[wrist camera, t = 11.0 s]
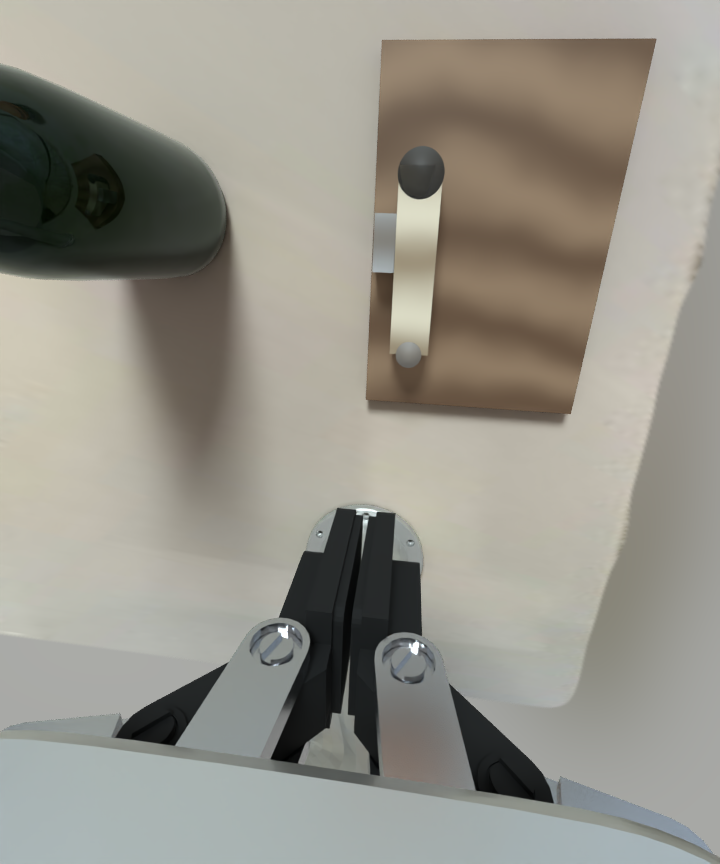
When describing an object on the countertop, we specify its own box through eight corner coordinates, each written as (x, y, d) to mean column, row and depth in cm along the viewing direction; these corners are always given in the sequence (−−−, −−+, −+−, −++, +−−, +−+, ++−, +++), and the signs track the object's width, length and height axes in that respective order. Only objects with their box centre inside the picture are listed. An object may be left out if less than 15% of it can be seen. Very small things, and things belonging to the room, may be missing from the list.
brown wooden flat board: (565, 408, 39) (583, 425, 35) (367, 395, 41) (362, 410, 37) (645, 48, 30) (682, 14, 26) (383, 49, 31) (378, 17, 27)
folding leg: (426, 360, 37) (427, 368, 34) (389, 358, 38) (387, 366, 35) (444, 156, 32) (447, 144, 29) (400, 155, 32) (398, 144, 29)
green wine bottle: (92, 160, 36) (-1609, -378, 6) (205, 122, 34) (-1448, -993, 4) (141, 289, 40) (-756, 379, 9) (246, 261, 38) (-447, 257, 7)
